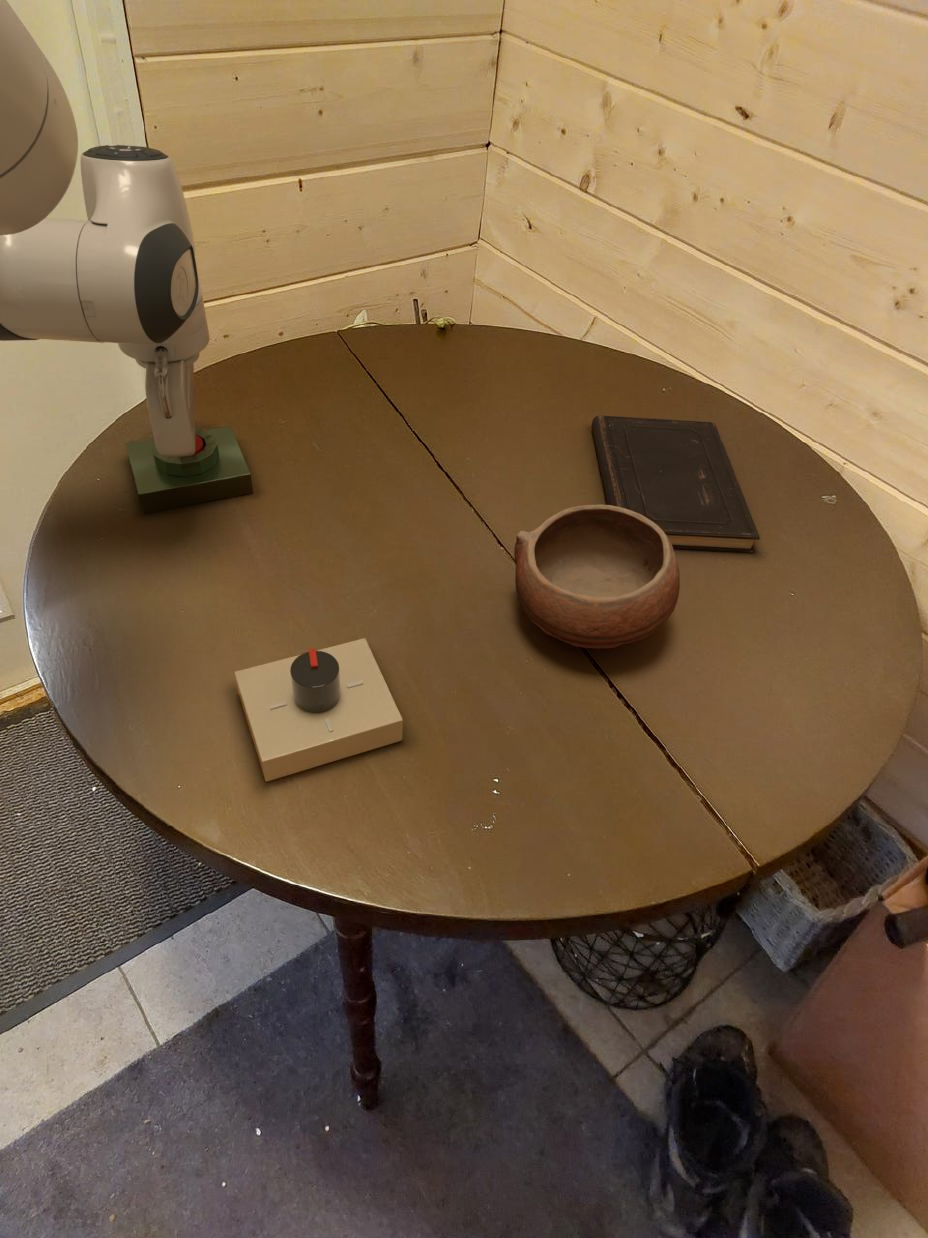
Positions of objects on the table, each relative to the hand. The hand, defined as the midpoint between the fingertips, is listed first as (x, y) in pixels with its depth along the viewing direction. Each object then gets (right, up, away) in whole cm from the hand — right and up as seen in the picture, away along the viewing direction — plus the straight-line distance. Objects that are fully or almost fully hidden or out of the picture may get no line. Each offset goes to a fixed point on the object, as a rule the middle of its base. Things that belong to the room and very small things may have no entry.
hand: (185, 442), depth 92 cm
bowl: (+44, -19, -7) cm, 48 cm away
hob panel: (+18, -28, -19) cm, 38 cm away
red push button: (0, -1, +1) cm, 2 cm away
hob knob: (+18, -26, -21) cm, 38 cm away
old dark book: (+56, -4, +9) cm, 56 cm away
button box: (-1, -3, +3) cm, 5 cm away
